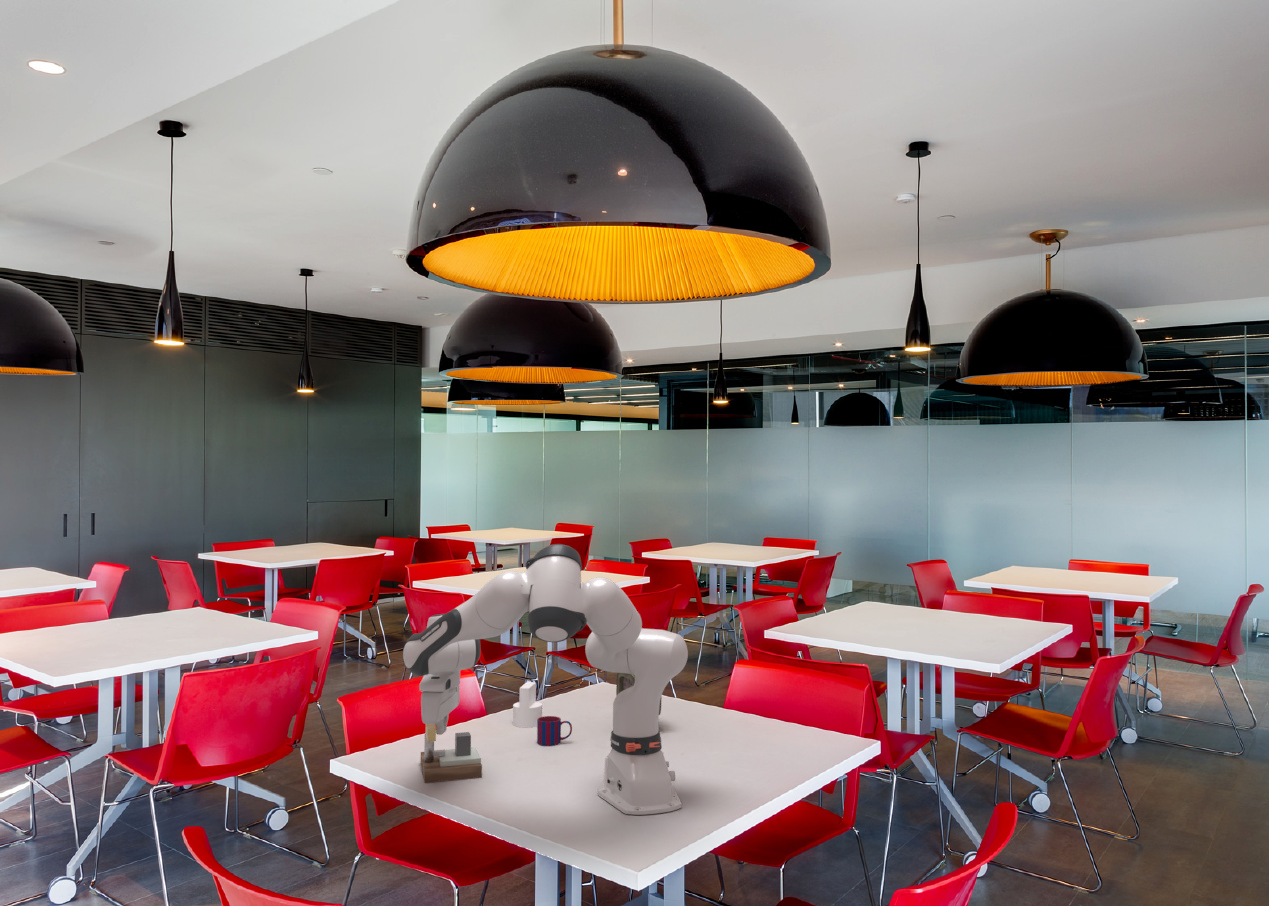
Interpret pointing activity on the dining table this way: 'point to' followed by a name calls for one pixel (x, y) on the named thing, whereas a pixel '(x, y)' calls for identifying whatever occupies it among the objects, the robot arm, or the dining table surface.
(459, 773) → the housing
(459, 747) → the cover
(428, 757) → the post with tan bar
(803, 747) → the dining table surface
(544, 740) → the mug
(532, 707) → the cylinder with rectangular tab
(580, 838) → the dining table surface
